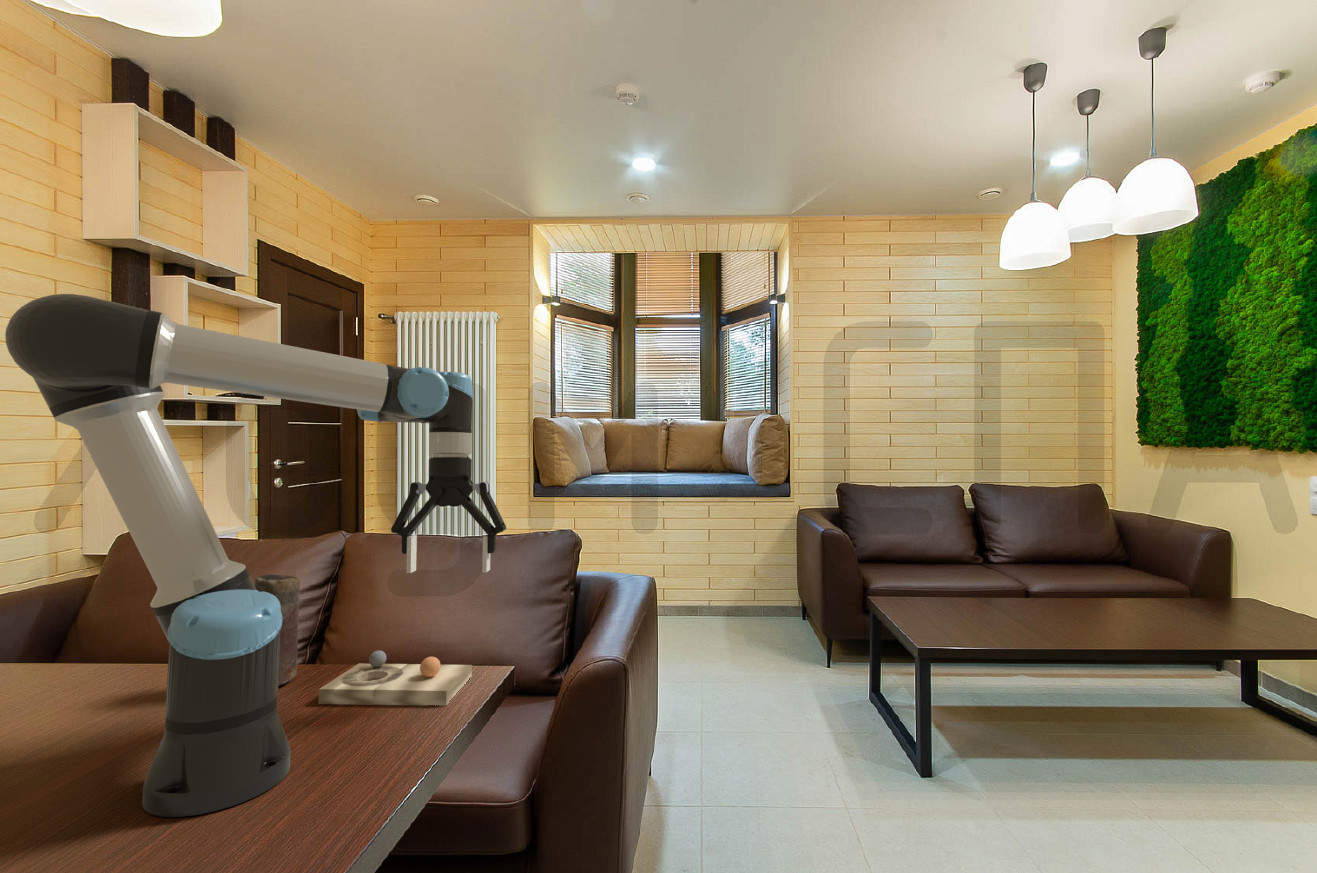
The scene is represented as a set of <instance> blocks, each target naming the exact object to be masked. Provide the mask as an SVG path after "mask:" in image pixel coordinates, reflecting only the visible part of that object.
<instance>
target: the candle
mask: <svg viewBox="0 0 1317 873" xmlns="http://www.w3.org/2000/svg"><path fill="white" fill-rule="evenodd" d="M300 582H301V581H300V578H299V577H298V576H296V575H286V574H284V575H280V574H262V575H257V576H256V577H255V579H254V585H255V587H256V589H257V590H258V591H259V592H267V593H270V594H272V595H274V596H275V597H276V598H277V599H278V600H279V602H280V605H281V613H282V618H283V619H282V626H281V629H280V648H279V674H278V687H279V686H281V685H284V684H286V683H288V682H290V681H291V680H292V679H293V678H294V677H296V676H297V674H298V673H297V671H298V670H297V669H298V644H299V642H298V641H299V640H298V638H299V613H300V611H299V608H300V588H301V587H300V585H301V584H300Z"/></svg>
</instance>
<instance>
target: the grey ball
mask: <svg viewBox="0 0 1317 873" xmlns="http://www.w3.org/2000/svg"><path fill="white" fill-rule="evenodd" d="M386 661H387V654H386V653H385V652H384V651H383V650H380V649H379V650H375V651H373V652H372V653H371V654H370V655H369V657H368V664H370V665H371V666H373V667H380V666H382V665H383V664H386Z"/></svg>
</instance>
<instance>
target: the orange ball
mask: <svg viewBox="0 0 1317 873" xmlns="http://www.w3.org/2000/svg"><path fill="white" fill-rule="evenodd" d="M420 664H421V665H420V671H421V673H422V675H423V676H425V677H433V676H435V675H436V674H437V673H438V672H439V670H440V666H441V665H442V664H441V661H440V660H439V659H438V657H435V656H428V657H426V658H424V659H423V660H422V661H421V663H420Z"/></svg>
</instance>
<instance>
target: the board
mask: <svg viewBox="0 0 1317 873" xmlns="http://www.w3.org/2000/svg"><path fill="white" fill-rule="evenodd" d="M420 665H421V663H419V664H418V663H414V664H413V663H412V664H411V663H384V664H383V665H382V666H380V667H373V666H371V665H370V663H363V662H362V663H360V662H359V663H357V664H356V665H354V666H353V667H351V668H350V669H348V670H346V671H345V672H343V673H342V674H340V675H339V676H338V677H336V678H334V679H333V680H331V681H329V682H327V684H324V685H323V686H322V687H320V688H319V689H318V705H357V706H359V705H365V706H369V705H370V706H372V705H373V706H378V705H379V706H428V705H435V706H436V705H437V707H439V706H440V707H441V706H443V707H445V706H448V704H449V703H450V702H451V701H452V700H453V699H454V698H455V697H456V696H457V695H456V693H457V692H458V691H459V690H460V689H461V688H462V687H463V686H464V684H466V682H467V681H468V680H469V678H470V677H472V676H473V673H472V672H473V665H472V664H440V665H441V666H440V670H439V672H438V673H437V674H436V675H435V676H433V677H425V676H423V675H422V673H421V671H420ZM472 678H473V677H472ZM469 681H470V680H469ZM466 685H467V684H466ZM464 687H465V686H464ZM464 687H463V688H464ZM463 688H462V689H463ZM462 689H461V690H462ZM461 690H460V691H461ZM460 691H459V692H460ZM459 692H458V693H459ZM458 693H457V694H458ZM455 695H456V696H455ZM454 696H455V697H454ZM453 697H454V698H453ZM452 698H453V699H452ZM451 699H452V700H451ZM450 700H451V701H450ZM449 701H450V702H449ZM438 705H439V706H438Z"/></svg>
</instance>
